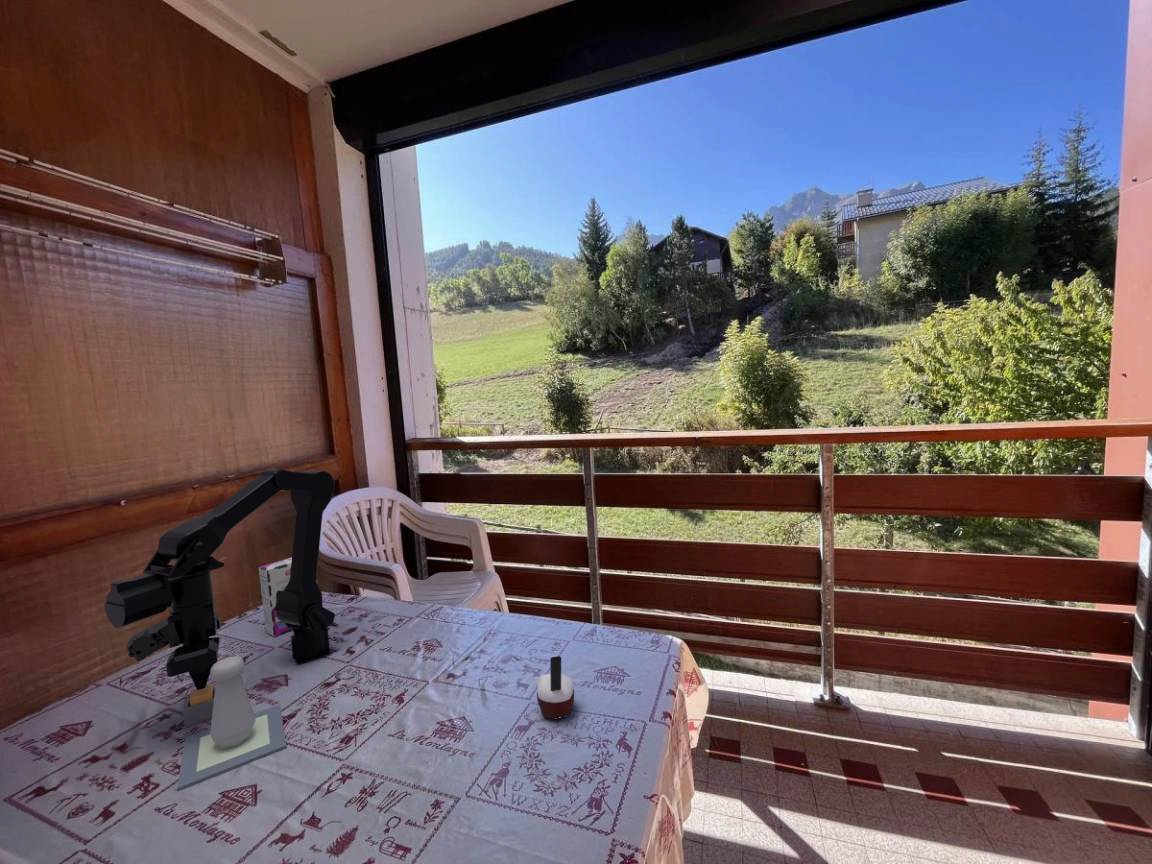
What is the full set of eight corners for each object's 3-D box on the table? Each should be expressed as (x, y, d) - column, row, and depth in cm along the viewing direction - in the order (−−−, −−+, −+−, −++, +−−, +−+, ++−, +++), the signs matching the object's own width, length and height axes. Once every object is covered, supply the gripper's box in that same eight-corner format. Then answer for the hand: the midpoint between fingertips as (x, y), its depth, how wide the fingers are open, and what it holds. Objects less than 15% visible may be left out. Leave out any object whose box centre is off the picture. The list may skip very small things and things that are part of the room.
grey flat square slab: (280, 706, 84) (279, 703, 84) (286, 747, 73) (285, 744, 73) (185, 739, 76) (185, 736, 76) (177, 791, 66) (177, 787, 66)
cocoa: (546, 697, 83) (541, 630, 83) (581, 699, 82) (576, 631, 82) (529, 732, 74) (523, 656, 74) (567, 735, 73) (561, 658, 73)
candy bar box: (311, 614, 122) (305, 552, 121) (321, 618, 119) (316, 555, 118) (263, 633, 113) (257, 566, 112) (273, 638, 110) (267, 569, 109)
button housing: (221, 703, 86) (219, 686, 86) (220, 716, 82) (218, 698, 82) (187, 714, 83) (185, 696, 83) (184, 728, 79) (182, 710, 79)
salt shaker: (265, 731, 77) (258, 653, 76) (229, 756, 71) (221, 673, 71) (239, 725, 79) (232, 649, 78) (202, 749, 73) (194, 668, 72)
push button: (213, 697, 84) (212, 683, 84) (213, 706, 82) (211, 691, 82) (192, 704, 83) (190, 690, 83) (190, 713, 80) (189, 698, 80)
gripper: (138, 597, 84) (147, 681, 85) (116, 636, 69) (127, 738, 70) (216, 581, 91) (224, 659, 92) (212, 613, 75) (221, 707, 76)
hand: (201, 688), depth 82 cm, fingers closed
